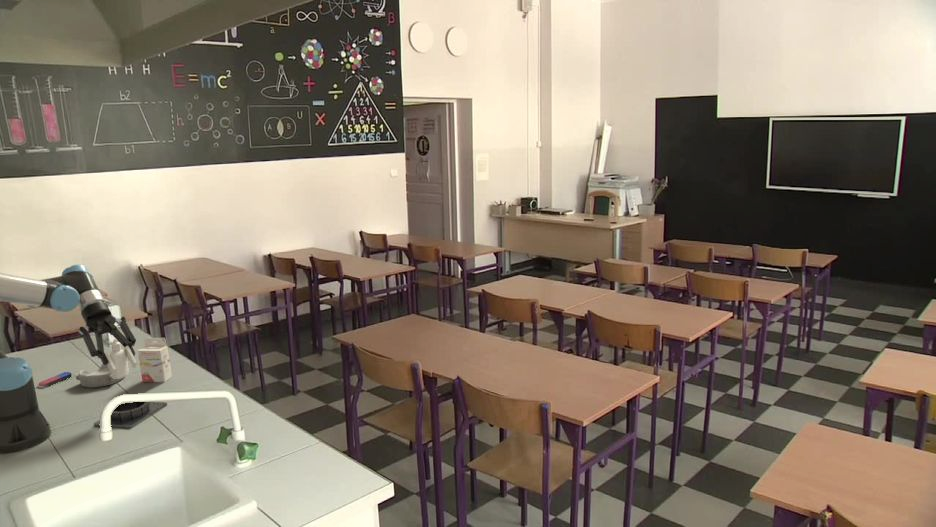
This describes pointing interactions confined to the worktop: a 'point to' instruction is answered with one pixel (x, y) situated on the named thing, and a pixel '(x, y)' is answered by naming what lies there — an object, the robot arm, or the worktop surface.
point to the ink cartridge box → (154, 361)
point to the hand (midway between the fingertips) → (124, 368)
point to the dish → (96, 377)
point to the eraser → (54, 380)
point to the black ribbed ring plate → (133, 413)
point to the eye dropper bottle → (119, 360)
